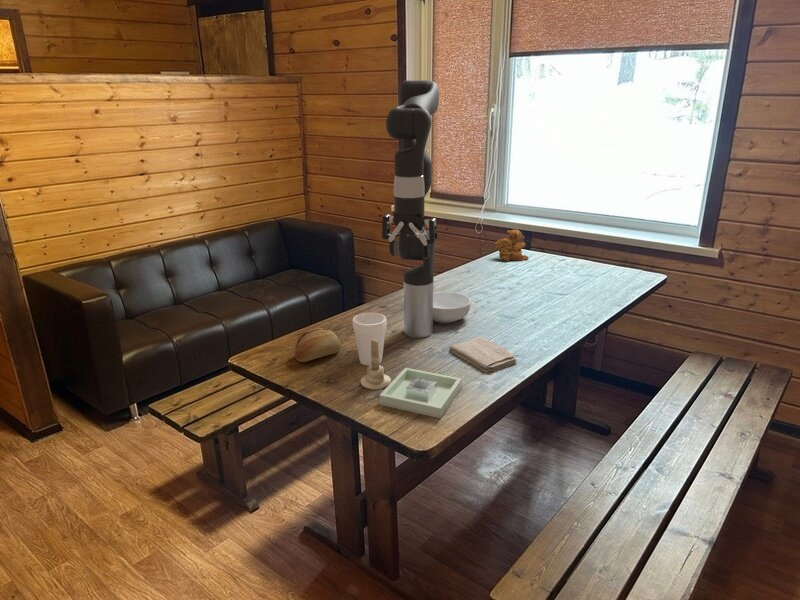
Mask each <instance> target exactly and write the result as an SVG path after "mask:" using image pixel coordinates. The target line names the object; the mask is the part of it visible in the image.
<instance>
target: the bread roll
mask: <svg viewBox="0 0 800 600" xmlns="http://www.w3.org/2000/svg"><path fill="white" fill-rule="evenodd" d="M341 349H342V343H341V340H340V338H339V337H338V336H337V335H336V333H334V331H332V330H329V329H328V328H323V327H315V328H312V329H309V330H305V331H304V332H302V333H301V334H300V335H299V337H298V339H297V341H296V343H295V348H294V357H295V359H296V361H297V362H299V363H307V362H310V361H313V360H317V359H320V358H322V357H326V356H331V355H334V354H337V353H338V352H340V350H341Z"/></svg>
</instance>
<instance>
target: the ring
mask: <svg viewBox="0 0 800 600" xmlns="http://www.w3.org/2000/svg"><path fill="white" fill-rule="evenodd" d="M436 391H437V382H434V381H429V380H424V379H419V378H414V380H413V381H412V382H411V383H410V384H409V385H408V386H407V388H406V397H408V398H412V399H417V400H422V401H426V402H428V401H429V400H430V399H431V398H432V396H433V395H434V394H435V392H436Z"/></svg>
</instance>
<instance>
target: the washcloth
mask: <svg viewBox="0 0 800 600" xmlns="http://www.w3.org/2000/svg"><path fill="white" fill-rule="evenodd" d="M448 351H449V352H451V353H453V354H454V355H456V356H458V357H459V358H461V359H463V360H464V361H466V362H468V363H470V364H471V365H473V366H474V367H477V368H478V369H480V370H482V371H483V372H484V373H488V372H494V371H499V370H500V369H503V368H506V366H507V367H509V365H510V366H512V365H511V364H513V365H514V363H515V364H516V363H517V359H516V357H514V356H515V354H514V353H512V352H510V351H509V350H507V349H506V347H505V346H501V345H499V344H497V343H495V342H493V341H491V340H489V339H487V338H485V337H483V336H476V337H472V338H470V339H469V340H466V341H464V342H463V341H461V342H458V343H454V344H453V345H450V346H449V349H448Z"/></svg>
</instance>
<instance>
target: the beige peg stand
mask: <svg viewBox="0 0 800 600" xmlns="http://www.w3.org/2000/svg"><path fill="white" fill-rule="evenodd" d="M371 362H372V365H371V366H368V367H367V368H366V371H367V372H366V374H365V375H364V376H362V377H361V379H360V385H361V386H362V387H363V388H365V389H368V390H374V391H376V390H382V389H386V388H387V387H388V386H389V385H390V383H391V382H392V378H391V377H390V376H389V375H387V374H385V368H384V366H383V365H380V363H379V341H378V340H371Z"/></svg>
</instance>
